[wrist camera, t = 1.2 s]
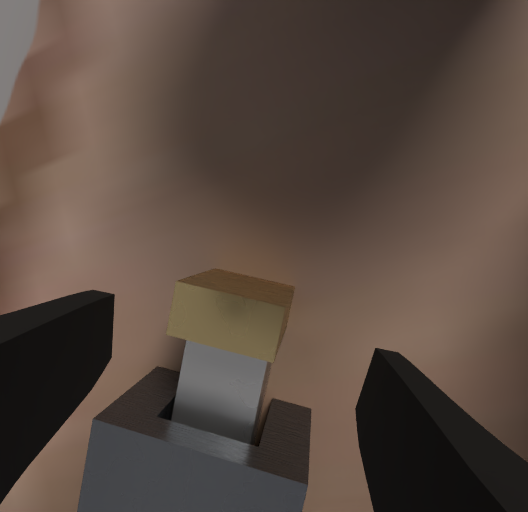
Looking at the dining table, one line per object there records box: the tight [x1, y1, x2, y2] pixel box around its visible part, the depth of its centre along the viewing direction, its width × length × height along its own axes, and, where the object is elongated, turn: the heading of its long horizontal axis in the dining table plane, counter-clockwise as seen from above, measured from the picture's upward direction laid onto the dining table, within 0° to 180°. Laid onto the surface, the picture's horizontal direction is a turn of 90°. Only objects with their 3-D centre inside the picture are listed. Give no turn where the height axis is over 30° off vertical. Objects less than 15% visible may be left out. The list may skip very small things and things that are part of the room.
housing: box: [77, 366, 311, 512], centre depth 19 cm, size 7×10×6 cm
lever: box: [166, 269, 295, 446], centre depth 19 cm, size 11×5×6 cm, turn 168°
